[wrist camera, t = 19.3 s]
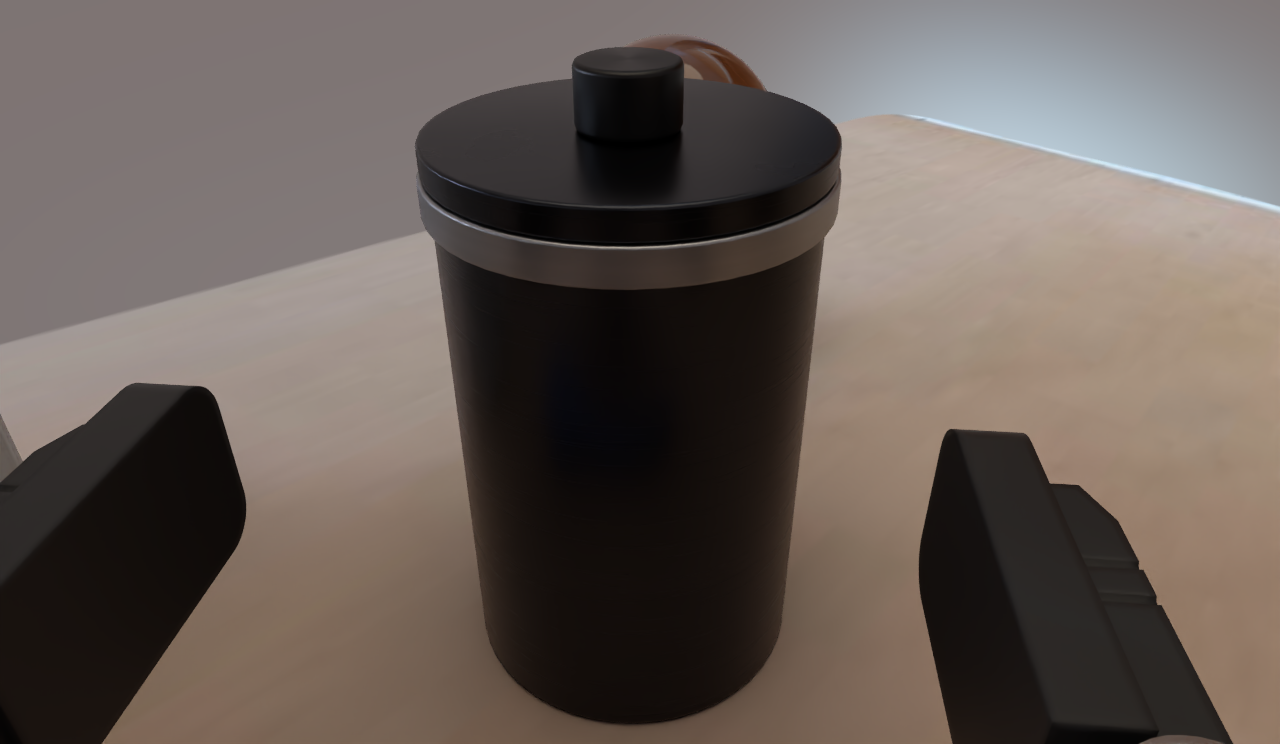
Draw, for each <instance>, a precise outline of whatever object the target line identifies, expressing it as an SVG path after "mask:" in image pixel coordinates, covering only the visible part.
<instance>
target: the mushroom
mask: <svg viewBox="0 0 1280 744" xmlns="http://www.w3.org/2000/svg"><path fill="white" fill-rule="evenodd" d="M623 47H643V48H653V49H660V50H664V51H668V52H671V53H674V54H676V55H678V56H680V57H681V58H682V60H683V62H684V78H690V79H700V80H709V81H717V82H723V83H730V84H736V85H741V86H746V87H751V88H756V89H760V90H764V91H767V90H766V88H765V87H764V85H763V83H762V82H761V81H760V79H759V78H758V77H757V75H756V74H755V73H754V72H753V70H752V69H751V68H750V67H749V66H748V65H747V64H746V63H745V62H744V61H743V60H742V59H740V58H739V57H738V56H736V55H735V54H733V53H732V52H731V51H729V50H728V49H726V48H724V47H722V46H720V45H718V44H716V43H714V42H712V41H709V40H706V39H702V38H699V37H696V36H690V35H681V34H664V35H655V36H650V37H646V38H643V39H639V40H636V41H634V42H632V43H629V44H627V45H625V46H623Z"/></svg>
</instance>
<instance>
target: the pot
mask: <svg viewBox="0 0 1280 744" xmlns="http://www.w3.org/2000/svg"><path fill="white" fill-rule="evenodd" d="M415 148H416V157H417V165H418V173H417V176H416V181H417V192H418V198H419V206H420V213H421V219H422V221H423V224H424V226H425V229H426V230H427V232H428V233H429V234H430V235H431V237H432V238H433V239H434V240H435V246H436V254H437V261H438V269H439V276H440V284H441V291H442V299H443V307H444V314H445V322H446V329H447V337H448V344H449V352H450V359H451V367H452V374H453V382H454V389H455V397H456V405H457V412H458V420H459V427H460V435H461V442H462V450H463V457H464V465H465V472H466V480H467V488H468V495H469V503H470V510H471V518H472V525H473V533H474V540H475V548H476V555H477V563H478V570H479V578H480V586H481V593H482V601H483V608H484V616H485V623H486V629H487V633H488V636H489V640H490V643H491V645H492V647H493V649H494V651H495V653H496V655H497V657H498V659H499V660H500V661H501V663H502V664H503V666H504V667H505V668H506V670H507V671H508V672H509V673H510V674H511V675H512V676H513V677H514V678H515V679H516V680H517V681H518V682H519V683H520V684H521V685H522V686H523V687H524V688H526V689H527V690H528V691H530V692H531V693H532V694H534V695H535V696H537V697H538V698H540V699H542V700H544V701H545V702H547V703H549V704H551V705H553V706H555V707H557V708H560V709H562V710H565V711H567V712H570V713H572V714H576V715H580V716H583V717H587V718H591V719H596V720H603V721H609V722H622V723H642V722H655V721H662V720H667V719H673V718H678V717H682V716H685V715H688V714H691V713H694V712H697V711H700V710H703V709H705V708H707V707H709V706H711V705H714V704H716V703H718V702H720V701H721V700H723V699H724V698H726V697H728V696H729V695H731V694H733V693H734V692H736V691H737V690H738V689H739V688H740V687H742V686H743V685H744V684H745V683H746V682H748V681H749V680H750V679H751V678H752V677H753V675H754V674H755V673H756V672H757V671H758V670H759V669H760V668H761V667H762V665H763V664H764V662H765V661H766V659H767V658H768V656H769V655H770V653H771V652H772V649H773V647H774V645H775V642H776V640H777V638H778V634H779V630H780V626H781V621H782V612H783V603H784V594H785V585H786V576H787V567H788V558H789V549H790V540H791V531H792V522H793V513H794V504H795V496H796V487H797V478H798V469H799V460H800V451H801V442H802V433H803V424H804V415H805V406H806V397H807V388H808V379H809V371H810V362H811V353H812V344H813V335H814V326H815V317H816V308H817V299H818V290H819V281H820V272H821V263H822V254H823V246H824V237H825V236H826V235H827V233H828V232H829V230H830V229H831V228H832V226H833V225H834V222H835V219H836V216H837V214H838V205H839V197H840V189H841V170H840V158H841V149H842V142H841V136H840V134H839V132H838V129H837V127H836V126H835V125H834V124H833V123H832V122H831V121H830V119H828V118H827V117H826V116H824V115H823V114H821V113H820V112H819V111H817V110H815V109H813V108H811V107H809V106H807V105H805V104H803V103H800V102H798V101H795V100H793V99H790V98H787V97H784V96H781V95H778V94H775V93H771V92H768V91H764V90H760V89H756V88H751V87H746V86H741V85H736V84H730V83H723V82H717V81H709V80H700V79H690V78H684V62H683V60H682V58H681V57H680V56H678V55H676V54H674V53H671V52H668V51H664V50H660V49H653V48H643V47H615V48H605V49H599V50H594V51H590V52H587V53H584V54H582V55H580V56H577V57H576V58H575V59H574V61H573V64H572V79H566V80H557V81H550V82H541V83H535V84H529V85H523V86H518V87H513V88H509V89H504V90H500V91H496V92H492V93H489V94H485V95H482V96H479V97H476V98H473V99H470V100H467V101H464V102H462V103H460V104H457V105H455V106H453V107H451V108H448V109H446V110H445V111H443V112H441V113H440V114H438V115H436V116H435V117H433V118H432V119H431V120H430V121H429V122H427V123H426V124H425V126H424V127H423V128H422V129H421V130H420V132H419V134H418V137H417V139H416V143H415Z"/></svg>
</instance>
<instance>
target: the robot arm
mask: <svg viewBox="0 0 1280 744" xmlns="http://www.w3.org/2000/svg"><path fill="white" fill-rule="evenodd" d="M245 519H246V499H245V493H244V490H243V486H242V483H241V479H240V476H239V473H238V469H237V466H236V463H235V459H234V456H233V453H232V449H231V446H230V443H229V439H228V436H227V433H226V429H225V426H224V423H223V419H222V416H221V413H220V409H219V406H218V403H217V401H216V399H215V397H214V395H213V394H212V393H211V392H210V391H209V390H208V389H206V388H204V387H201V386H184V385H165V384H147V383H134V384H131V385H128V386H126V387H125V388H124V389H123V390H121V391H120V392H119V393H118V394H117V395H116V396H115V397H114V398H113V399H112V400H111V401H109V402H108V403H107V404H106V405H105V406H104V407H103V408H102V409H101V410H100V411H99V412H98V413H97V414H96V415H95V416H93V417H92V418H91V419H90V420H89V421H88V422H87V423H86V424H85V425H81V426H79V427H78V428H76V429H74V430H72V431H70V432H69V433H67V434H65V435H63V436H61V437H60V438H58V439H56V440H54V441H52V442H51V443H49V444H47V445H45V446H43V447H42V448H40V449H38V450H36V451H35V452H33V453H32V454H31V455H30V456H29V457H28V458H27V459H26V460H24V461H23V462H22V463H21V464H20V465H19V466H18V467H17V468H16V469H15V470H13V471H12V472H11V473H10V474H9V475H8V476H7V477H6V478H5V479H4V480H2V481H1V482H0V744H102V742H103V741H104V739H105V738H106V737H107V735H108V734H109V732H110V731H111V729H112V728H113V726H114V725H115V723H116V722H117V721H118V719H119V718H120V716H121V715H122V713H123V712H124V710H125V709H126V707H127V706H128V705H129V703H130V702H131V700H132V699H133V697H134V696H135V694H136V693H137V692H138V690H139V689H140V687H141V686H142V684H143V683H144V681H145V680H146V678H147V677H148V676H149V674H150V673H151V671H152V670H153V668H154V667H155V665H156V664H157V662H158V661H159V660H160V658H161V657H162V655H163V654H164V652H165V651H166V649H167V648H168V646H169V645H170V644H171V642H172V641H173V639H174V638H175V636H176V635H177V633H178V632H179V630H180V629H181V628H182V626H183V625H184V623H185V622H186V620H187V619H188V617H189V616H190V614H191V613H192V612H193V610H194V609H195V607H196V606H197V604H198V603H199V601H200V600H201V598H202V597H203V596H204V594H205V593H206V591H207V590H208V588H209V587H210V585H211V584H212V583H213V581H214V580H215V578H216V577H217V575H218V574H219V572H220V571H221V569H222V568H223V567H224V565H225V564H226V562H227V561H228V559H229V558H230V556H231V555H232V553H233V552H234V550H235V549H236V547H237V545H238V543H239V541H240V539H241V536H242V533H243V529H244V525H245ZM919 585H920V595H921V600H922V605H923V610H924V615H925V619H926V624H927V628H928V633H929V637H930V642H931V647H932V651H933V656H934V660H935V665H936V670H937V674H938V679H939V683H940V688H941V693H942V697H943V702H944V706H945V711H946V715H947V720H948V725H949V729H950V734H951V738H952V743H953V744H1233V743H1232V741H1231V739H1230V737H1229V735H1228V733H1227V731H1226V729H1225V727H1224V725H1223V723H1222V722H1221V720H1220V718H1219V716H1218V714H1217V712H1216V710H1215V708H1214V706H1213V704H1212V702H1211V700H1210V698H1209V696H1208V694H1207V692H1206V691H1205V689H1204V687H1203V685H1202V683H1201V681H1200V679H1199V677H1198V675H1197V673H1196V671H1195V669H1194V667H1193V665H1192V663H1191V661H1190V660H1189V658H1188V656H1187V654H1186V652H1185V650H1184V648H1183V646H1182V644H1181V642H1180V640H1179V638H1178V636H1177V634H1176V632H1175V630H1174V629H1173V627H1172V625H1171V623H1170V621H1169V619H1168V617H1167V615H1166V613H1165V611H1164V609H1163V607H1162V605H1157V602H1156V598H1157V596H1156V594H1155V592H1154V590H1153V588H1152V586H1151V584H1150V582H1149V580H1148V578H1147V576H1146V574H1145V572H1144V570H1139V561H1138V559H1137V557H1136V555H1135V553H1134V551H1133V549H1132V547H1131V545H1130V543H1129V541H1128V539H1127V537H1126V536H1125V534H1124V532H1123V530H1122V528H1121V526H1120V524H1119V522H1118V521H1117V520H1116V519H1115V518H1114V517H1113V516H1112V515H1111V514H1110V513H1109V512H1108V511H1106V510H1105V509H1104V508H1103V507H1102V506H1101V505H1100V504H1099V503H1098V502H1097V501H1095V500H1094V499H1093V498H1092V497H1091V496H1090V495H1089V494H1088V493H1087V492H1086V491H1084V490H1083V489H1082V488H1081V487H1080V486H1079V485H1067V484H1050V483H1049V481H1048V478H1047V476H1046V474H1045V472H1044V469H1043V467H1042V465H1041V463H1040V460H1039V458H1038V456H1037V454H1036V451H1035V449H1034V447H1033V445H1032V442H1031V441H1030V439H1029V437H1028V436H1027V435H1026V434H1024V433H1014V432H996V431H977V430H959V429H950V430H948V431H947V432H946V434H945V436H944V438H943V441H942V445H941V449H940V453H939V458H938V463H937V467H936V472H935V477H934V482H933V486H932V491H931V496H930V500H929V505H928V510H927V514H926V519H925V524H924V529H923V533H922V538H921V544H920V553H919Z"/></svg>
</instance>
